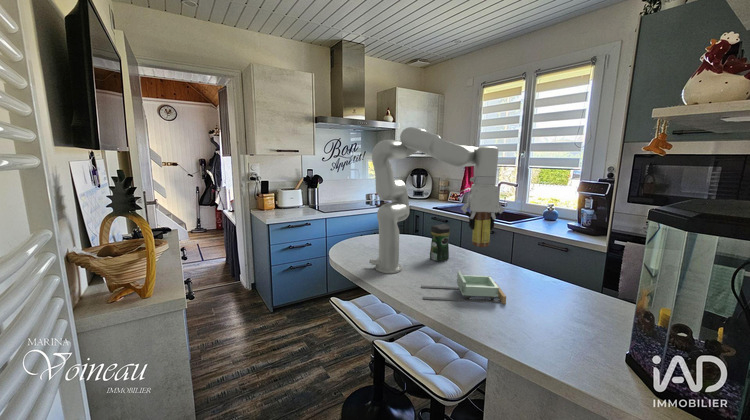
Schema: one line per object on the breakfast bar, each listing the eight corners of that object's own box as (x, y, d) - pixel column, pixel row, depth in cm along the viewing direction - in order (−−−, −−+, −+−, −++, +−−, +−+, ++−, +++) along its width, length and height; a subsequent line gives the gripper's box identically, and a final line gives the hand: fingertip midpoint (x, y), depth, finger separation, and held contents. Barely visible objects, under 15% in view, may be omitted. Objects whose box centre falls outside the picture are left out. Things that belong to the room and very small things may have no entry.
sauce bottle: (488, 244, 116) (493, 193, 112) (489, 248, 110) (494, 195, 107) (471, 242, 118) (475, 191, 115) (470, 246, 112) (474, 193, 109)
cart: (462, 299, 113) (463, 282, 112) (456, 286, 124) (457, 270, 122) (497, 300, 112) (499, 283, 111) (488, 287, 123) (490, 272, 122)
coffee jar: (440, 255, 164) (442, 222, 160) (451, 260, 157) (453, 225, 153) (426, 258, 159) (428, 224, 155) (437, 263, 152) (438, 227, 149)
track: (423, 300, 113) (423, 293, 113) (420, 285, 126) (421, 278, 125) (505, 304, 111) (506, 296, 110) (494, 288, 124) (495, 281, 123)
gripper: (463, 181, 107) (459, 230, 110) (513, 182, 106) (508, 232, 109) (458, 179, 114) (455, 226, 117) (505, 180, 113) (501, 227, 116)
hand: (481, 228), depth 113 cm, fingers closed on sauce bottle, 6 cm apart
